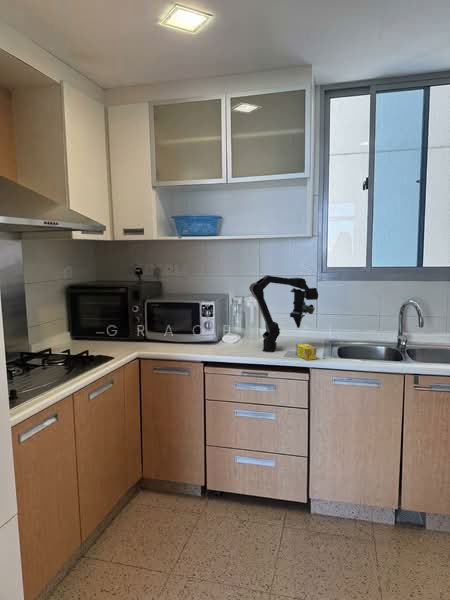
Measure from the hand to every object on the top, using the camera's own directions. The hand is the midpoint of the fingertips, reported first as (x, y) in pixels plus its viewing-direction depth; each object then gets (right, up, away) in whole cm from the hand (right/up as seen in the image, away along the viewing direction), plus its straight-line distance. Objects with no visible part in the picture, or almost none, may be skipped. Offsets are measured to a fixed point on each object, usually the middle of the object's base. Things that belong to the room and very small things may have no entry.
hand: (298, 327), depth 230 cm
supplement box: (-1, -11, -12) cm, 16 cm away
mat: (-3, -14, -11) cm, 18 cm away
